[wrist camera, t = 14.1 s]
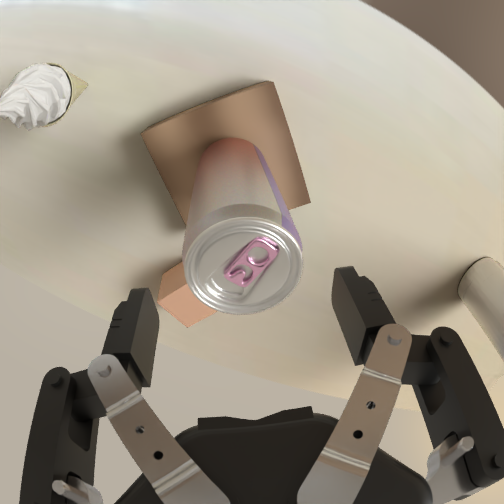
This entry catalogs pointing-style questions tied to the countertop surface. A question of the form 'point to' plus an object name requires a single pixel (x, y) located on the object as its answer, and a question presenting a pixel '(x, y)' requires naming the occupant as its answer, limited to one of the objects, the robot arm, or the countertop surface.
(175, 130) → the pedestal
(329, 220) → the countertop surface
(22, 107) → the ice cream cone
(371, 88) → the countertop surface
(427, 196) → the countertop surface
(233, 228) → the beverage can
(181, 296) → the terracotta cube
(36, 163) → the countertop surface
